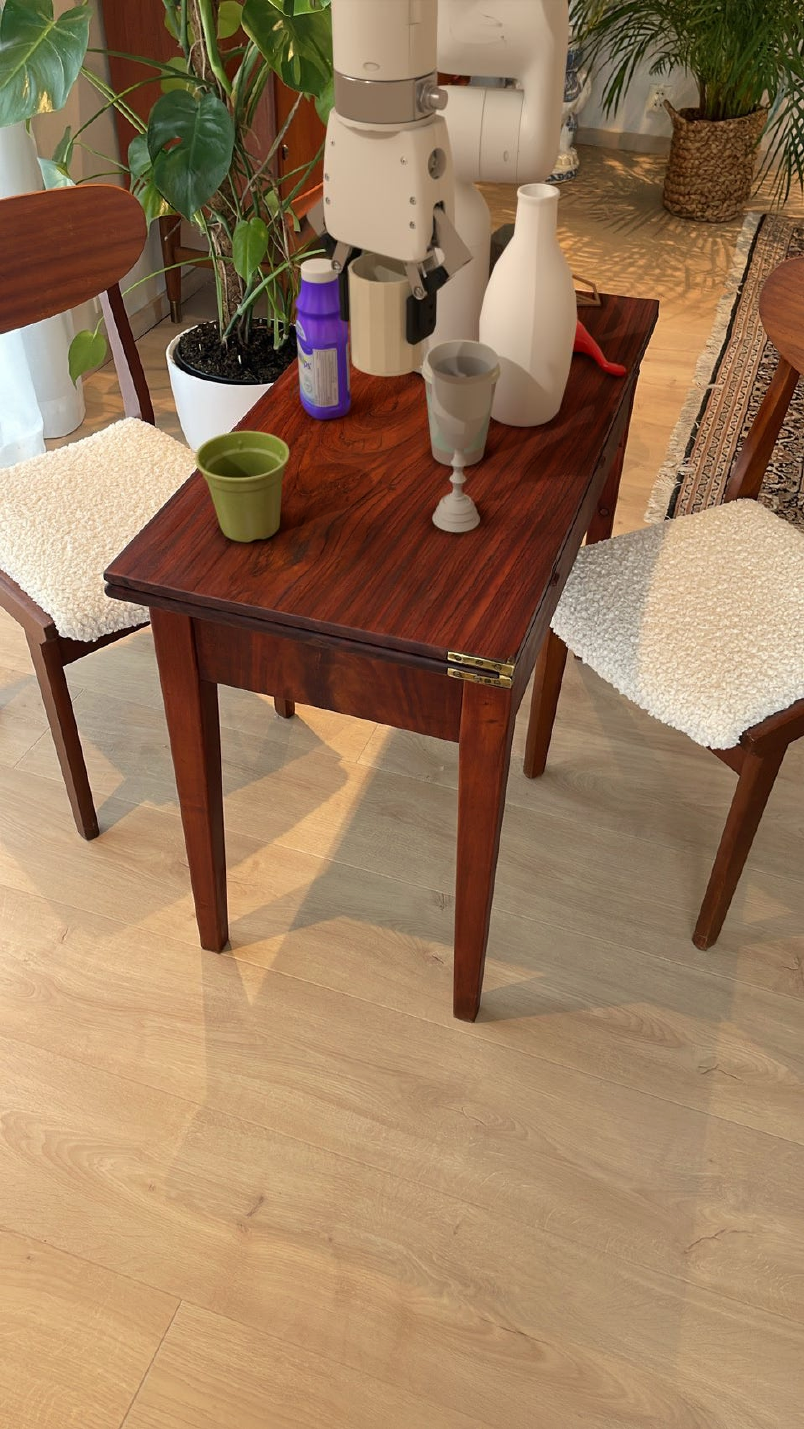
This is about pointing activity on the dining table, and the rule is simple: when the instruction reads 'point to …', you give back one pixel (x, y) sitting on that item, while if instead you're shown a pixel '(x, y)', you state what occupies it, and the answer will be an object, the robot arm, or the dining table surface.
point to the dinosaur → (594, 350)
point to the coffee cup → (438, 442)
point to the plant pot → (245, 482)
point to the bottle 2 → (531, 314)
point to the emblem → (584, 300)
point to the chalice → (460, 418)
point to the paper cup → (380, 317)
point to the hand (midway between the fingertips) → (387, 325)
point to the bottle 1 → (322, 343)
